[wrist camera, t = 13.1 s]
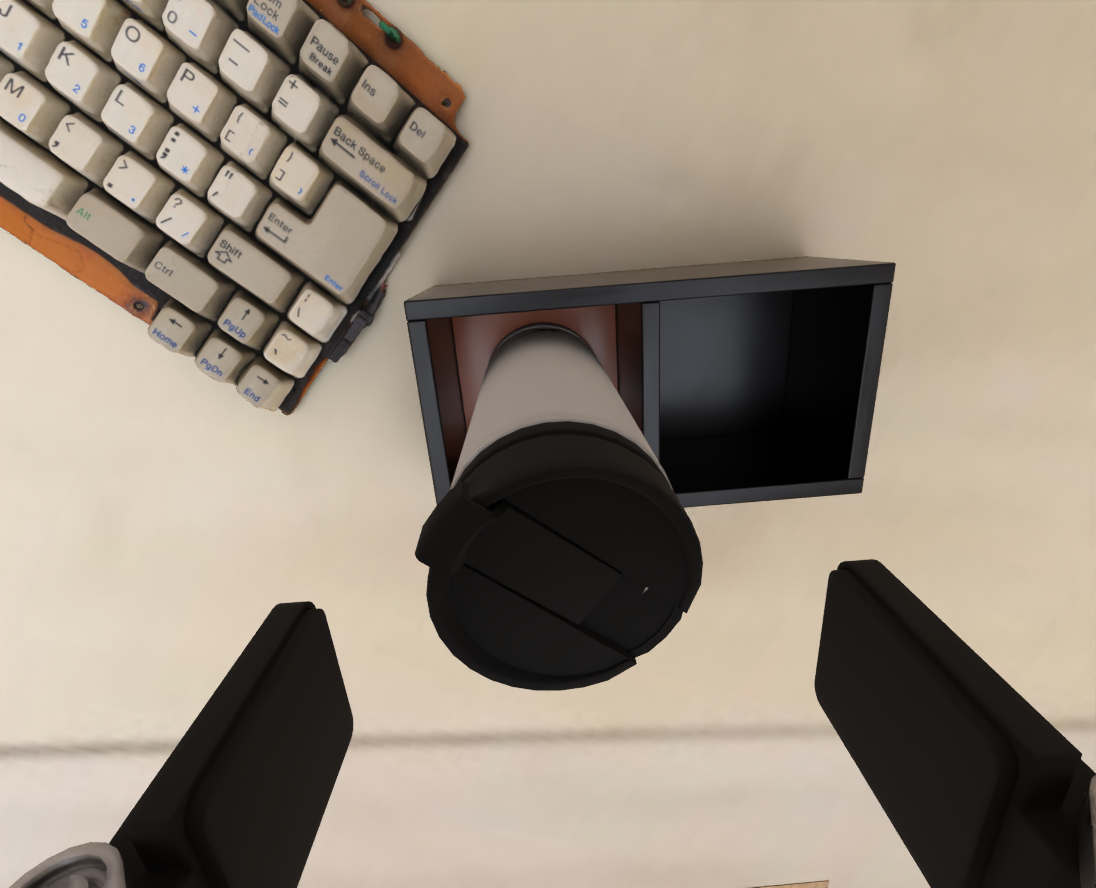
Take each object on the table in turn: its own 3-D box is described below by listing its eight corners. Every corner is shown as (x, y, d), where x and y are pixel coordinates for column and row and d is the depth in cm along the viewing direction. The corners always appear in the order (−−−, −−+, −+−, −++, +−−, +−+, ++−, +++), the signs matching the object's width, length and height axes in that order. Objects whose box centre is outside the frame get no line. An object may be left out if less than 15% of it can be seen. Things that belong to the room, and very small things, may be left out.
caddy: (433, 285, 29) (403, 301, 22) (807, 256, 29) (896, 262, 22) (458, 465, 33) (440, 528, 26) (790, 438, 33) (862, 493, 26)
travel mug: (525, 293, 28) (524, 398, 10) (622, 366, 30) (780, 578, 11) (459, 386, 30) (349, 631, 11) (554, 451, 32) (594, 759, 13)
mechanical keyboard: (-530, -115, 22) (-707, -175, 19) (-461, -723, 17) (-684, -941, 14) (308, 420, 31) (284, 440, 28) (504, 123, 27) (502, 107, 23)
